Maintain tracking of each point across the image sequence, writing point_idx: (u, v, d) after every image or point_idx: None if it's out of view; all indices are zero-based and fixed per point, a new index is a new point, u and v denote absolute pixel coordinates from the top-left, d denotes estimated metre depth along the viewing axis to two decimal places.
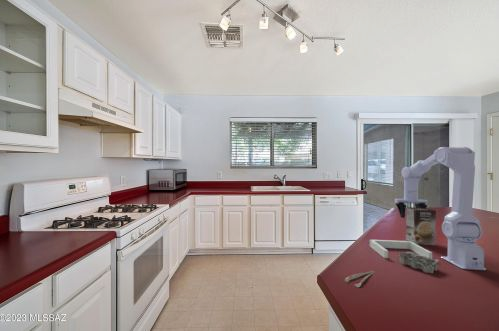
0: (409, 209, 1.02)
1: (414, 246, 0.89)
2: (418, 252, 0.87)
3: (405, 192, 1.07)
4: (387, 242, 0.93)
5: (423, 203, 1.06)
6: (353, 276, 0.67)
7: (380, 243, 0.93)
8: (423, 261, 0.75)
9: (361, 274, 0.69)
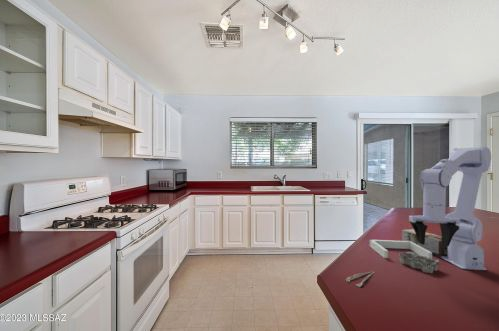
0: (437, 246, 0.84)
1: (414, 246, 0.89)
2: (418, 252, 0.87)
3: (425, 206, 0.72)
4: (387, 242, 0.93)
5: (453, 223, 0.71)
6: (354, 276, 0.67)
7: (380, 243, 0.93)
8: (423, 261, 0.75)
9: (362, 274, 0.69)
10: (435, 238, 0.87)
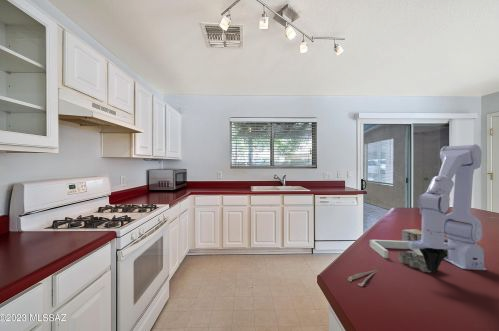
0: None
1: None
2: (418, 252, 0.87)
3: (424, 232, 0.70)
4: (387, 242, 0.93)
5: (451, 249, 0.69)
6: (356, 275, 0.67)
7: (380, 243, 0.93)
8: (422, 260, 0.75)
9: (364, 273, 0.69)
10: None
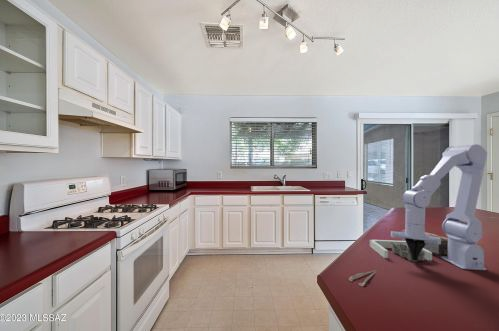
0: (437, 246, 0.84)
1: None
2: None
3: (405, 224, 0.79)
4: (387, 242, 0.93)
5: (434, 242, 0.75)
6: (357, 275, 0.68)
7: (380, 243, 0.93)
8: None
9: (364, 273, 0.69)
10: None
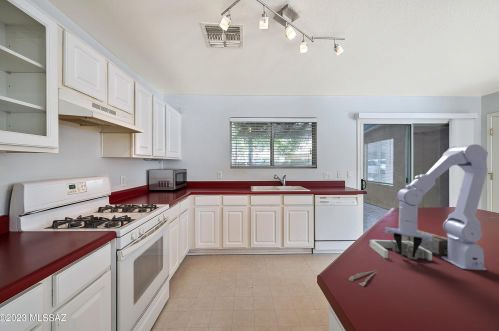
0: (437, 246, 0.84)
1: None
2: None
3: (399, 220, 0.83)
4: (387, 242, 0.93)
5: (425, 239, 0.78)
6: (357, 275, 0.68)
7: (380, 243, 0.93)
8: (411, 249, 0.85)
9: (365, 273, 0.70)
10: (435, 238, 0.87)
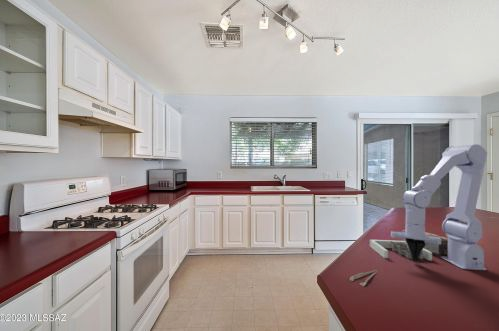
0: (437, 246, 0.84)
1: None
2: None
3: (405, 224, 0.79)
4: (387, 242, 0.93)
5: (434, 242, 0.75)
6: (358, 275, 0.68)
7: (380, 243, 0.93)
8: None
9: (365, 273, 0.70)
10: None
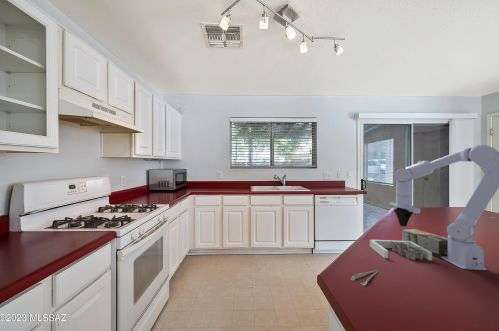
0: (437, 246, 0.84)
1: (414, 246, 0.89)
2: None
3: None
4: (387, 242, 0.93)
5: (412, 211, 0.89)
6: (359, 275, 0.68)
7: (380, 243, 0.93)
8: (410, 250, 0.85)
9: (366, 273, 0.70)
10: (435, 238, 0.87)
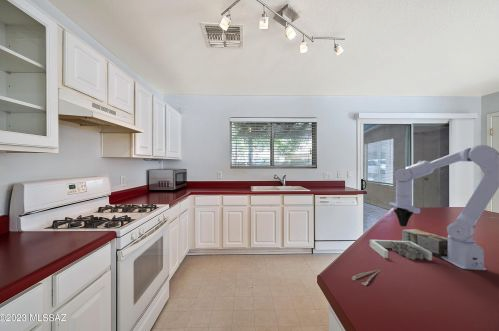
0: (437, 246, 0.84)
1: None
2: None
3: None
4: (387, 242, 0.93)
5: (412, 211, 0.89)
6: (360, 275, 0.68)
7: (380, 243, 0.93)
8: (410, 250, 0.85)
9: (367, 273, 0.70)
10: (435, 238, 0.87)
